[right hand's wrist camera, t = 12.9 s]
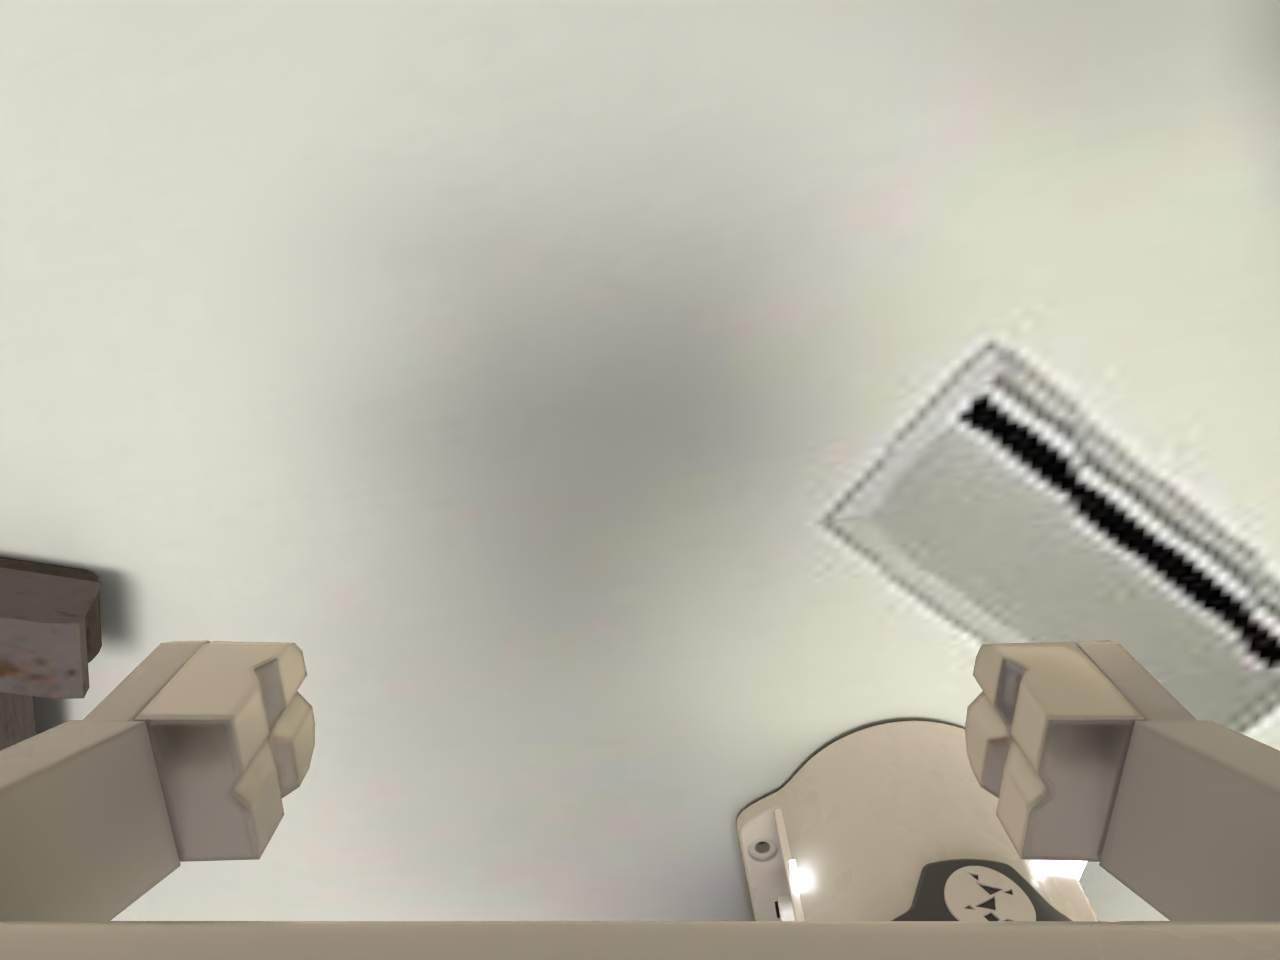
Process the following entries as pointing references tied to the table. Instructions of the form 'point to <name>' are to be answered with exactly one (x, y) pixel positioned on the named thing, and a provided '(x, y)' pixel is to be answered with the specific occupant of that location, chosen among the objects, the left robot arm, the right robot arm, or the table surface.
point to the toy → (43, 639)
